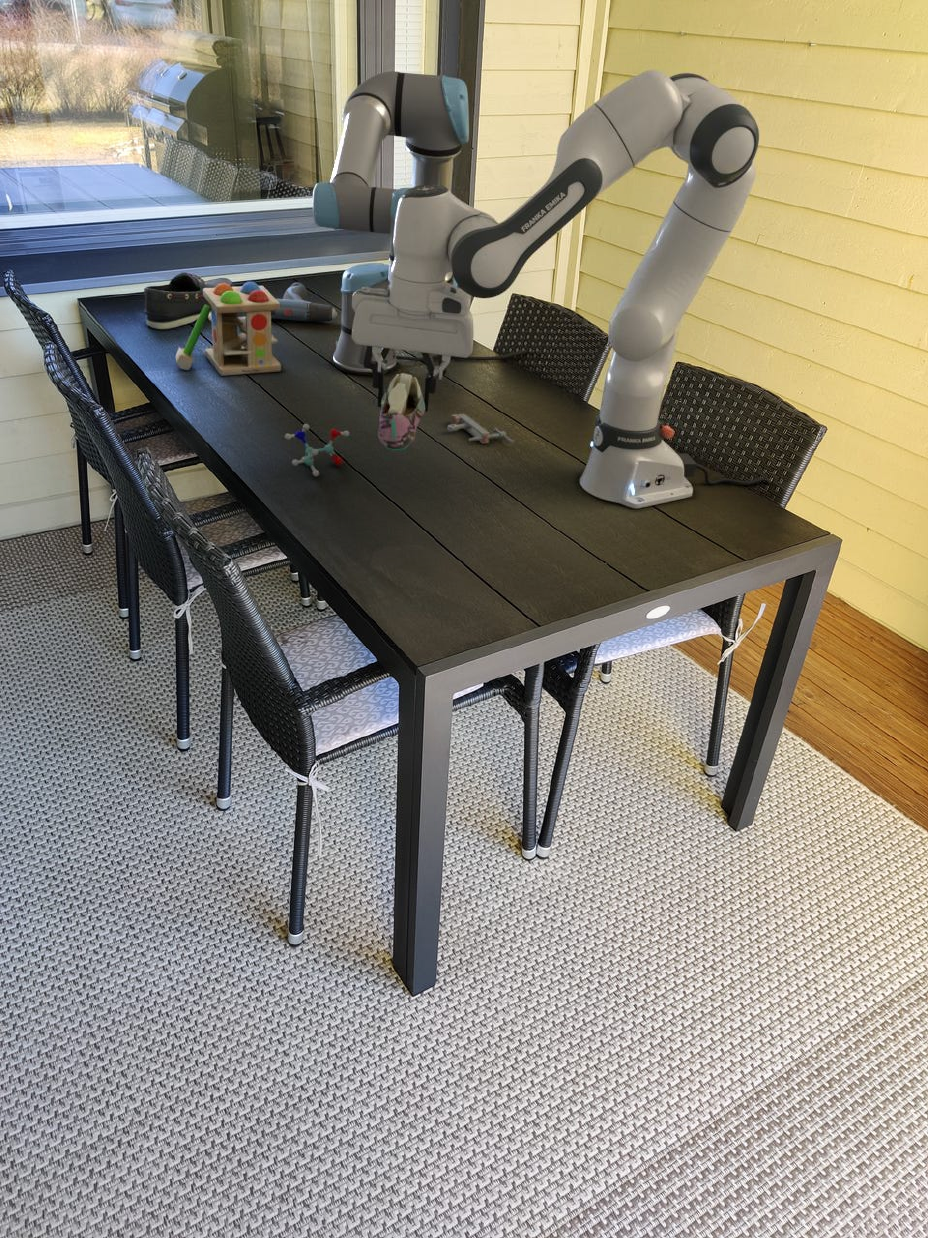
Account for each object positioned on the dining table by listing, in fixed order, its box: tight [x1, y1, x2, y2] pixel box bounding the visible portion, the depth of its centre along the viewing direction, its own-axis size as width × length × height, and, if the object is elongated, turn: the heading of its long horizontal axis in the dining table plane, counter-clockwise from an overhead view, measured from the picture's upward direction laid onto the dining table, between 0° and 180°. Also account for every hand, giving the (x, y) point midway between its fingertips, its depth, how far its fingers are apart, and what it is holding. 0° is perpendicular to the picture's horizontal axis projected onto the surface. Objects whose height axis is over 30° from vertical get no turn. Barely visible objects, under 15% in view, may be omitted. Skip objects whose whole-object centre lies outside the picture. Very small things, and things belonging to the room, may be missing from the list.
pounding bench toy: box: [174, 281, 282, 377], centre depth 225 cm, size 23×14×18 cm, turn 116°
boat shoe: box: [143, 271, 236, 330], centre depth 257 cm, size 13×33×10 cm, turn 147°
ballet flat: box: [377, 373, 426, 452], centre depth 177 cm, size 8×24×9 cm, turn 178°
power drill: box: [271, 282, 338, 322], centre depth 265 cm, size 5×19×20 cm
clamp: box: [447, 413, 515, 445], centre depth 208 cm, size 15×2×10 cm
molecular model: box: [284, 423, 350, 477], centre depth 188 cm, size 12×10×10 cm
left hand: (403, 406), depth 186 cm, fingers closed on ballet flat, 8 cm apart
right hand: (409, 374), depth 166 cm, fingers open, 8 cm apart
